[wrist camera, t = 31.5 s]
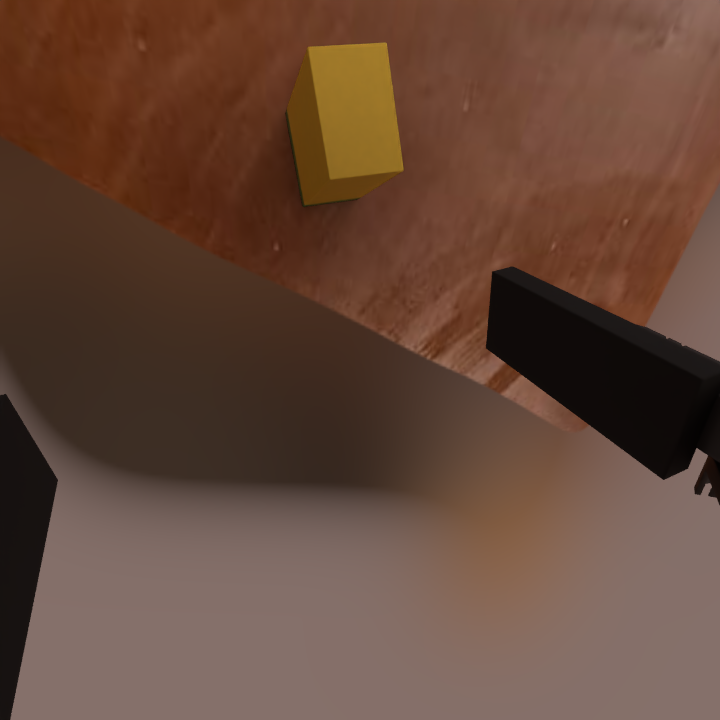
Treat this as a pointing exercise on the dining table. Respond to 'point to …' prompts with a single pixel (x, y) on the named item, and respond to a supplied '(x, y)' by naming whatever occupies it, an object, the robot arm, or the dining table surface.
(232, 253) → the dining table surface
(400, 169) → the sponge
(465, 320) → the dining table surface
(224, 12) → the dining table surface
